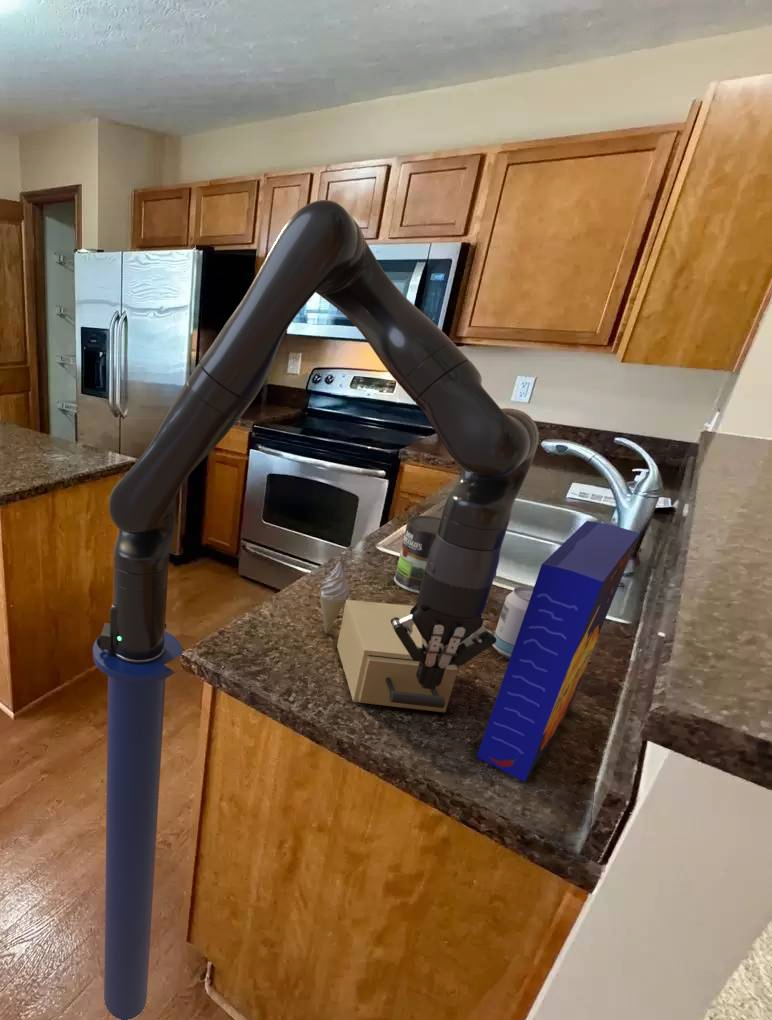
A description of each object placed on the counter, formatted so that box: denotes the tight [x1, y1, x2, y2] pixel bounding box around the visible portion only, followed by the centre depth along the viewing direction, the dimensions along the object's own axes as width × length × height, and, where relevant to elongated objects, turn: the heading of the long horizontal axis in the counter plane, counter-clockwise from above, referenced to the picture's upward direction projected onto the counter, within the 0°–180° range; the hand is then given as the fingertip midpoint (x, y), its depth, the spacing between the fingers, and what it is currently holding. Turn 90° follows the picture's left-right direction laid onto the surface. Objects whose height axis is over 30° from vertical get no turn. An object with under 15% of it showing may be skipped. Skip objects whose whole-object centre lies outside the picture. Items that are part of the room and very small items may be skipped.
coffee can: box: [393, 515, 441, 595], centre depth 127 cm, size 10×10×14 cm
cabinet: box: [336, 599, 460, 713], centre depth 97 cm, size 16×14×10 cm
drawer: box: [358, 655, 459, 713], centre depth 93 cm, size 20×12×8 cm, turn 171°
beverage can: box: [492, 586, 534, 660], centre depth 104 cm, size 7×7×12 cm
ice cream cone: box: [318, 560, 351, 634], centre depth 108 cm, size 5×5×15 cm
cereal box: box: [476, 520, 641, 783], centre depth 81 cm, size 22×6×30 cm, turn 133°
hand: (426, 685), depth 81 cm, fingers closed
